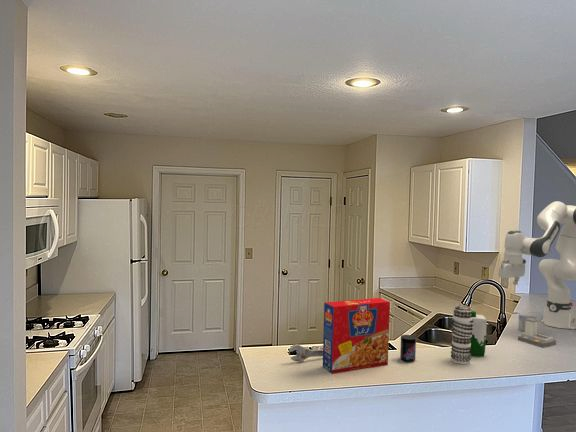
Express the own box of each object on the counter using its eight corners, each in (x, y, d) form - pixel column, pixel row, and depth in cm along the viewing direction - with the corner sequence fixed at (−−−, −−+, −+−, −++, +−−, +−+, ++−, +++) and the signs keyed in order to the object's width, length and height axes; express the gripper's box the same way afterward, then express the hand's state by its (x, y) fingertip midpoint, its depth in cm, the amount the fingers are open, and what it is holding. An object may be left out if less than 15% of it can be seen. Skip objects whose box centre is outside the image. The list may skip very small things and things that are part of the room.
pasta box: (331, 374, 178) (333, 306, 176) (322, 366, 185) (324, 302, 184) (387, 365, 189) (389, 301, 188) (377, 358, 196) (379, 297, 195)
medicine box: (532, 330, 247) (533, 315, 246) (536, 332, 242) (536, 317, 242) (517, 329, 247) (518, 314, 247) (521, 331, 243) (522, 316, 243)
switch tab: (529, 334, 231) (529, 317, 230) (537, 336, 227) (538, 319, 227) (524, 335, 228) (525, 318, 228) (532, 337, 225) (533, 320, 224)
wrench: (346, 361, 199) (288, 364, 186) (344, 360, 201) (287, 362, 187) (348, 344, 199) (291, 345, 186) (346, 343, 201) (289, 344, 188)
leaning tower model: (461, 356, 202) (463, 303, 201) (476, 363, 193) (478, 308, 192) (445, 358, 199) (447, 304, 198) (460, 365, 190) (462, 309, 189)
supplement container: (400, 361, 193) (401, 338, 193) (399, 356, 200) (400, 334, 199) (415, 363, 192) (416, 340, 191) (414, 357, 198) (415, 335, 198)
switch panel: (530, 336, 234) (531, 330, 234) (555, 344, 223) (556, 337, 222) (517, 340, 228) (518, 333, 227) (542, 347, 216) (543, 340, 216)
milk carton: (462, 349, 211) (464, 309, 210) (482, 351, 209) (484, 310, 208) (466, 355, 202) (468, 313, 201) (487, 357, 200) (488, 315, 200)
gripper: (507, 261, 229) (505, 287, 229) (528, 260, 240) (526, 285, 240) (496, 259, 234) (494, 285, 235) (516, 258, 245) (515, 282, 246)
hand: (510, 285), depth 238 cm, fingers open, 8 cm apart
